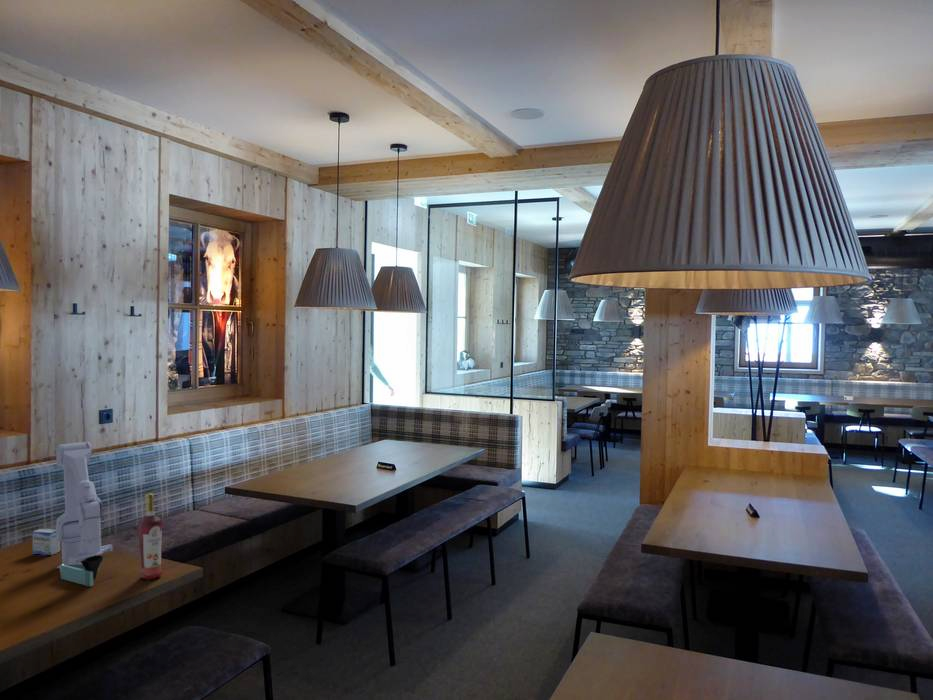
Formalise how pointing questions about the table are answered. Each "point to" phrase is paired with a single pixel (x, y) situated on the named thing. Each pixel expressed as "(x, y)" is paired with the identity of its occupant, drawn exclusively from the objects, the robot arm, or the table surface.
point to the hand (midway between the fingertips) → (92, 579)
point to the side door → (76, 575)
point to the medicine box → (45, 542)
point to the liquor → (150, 541)
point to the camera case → (77, 565)
